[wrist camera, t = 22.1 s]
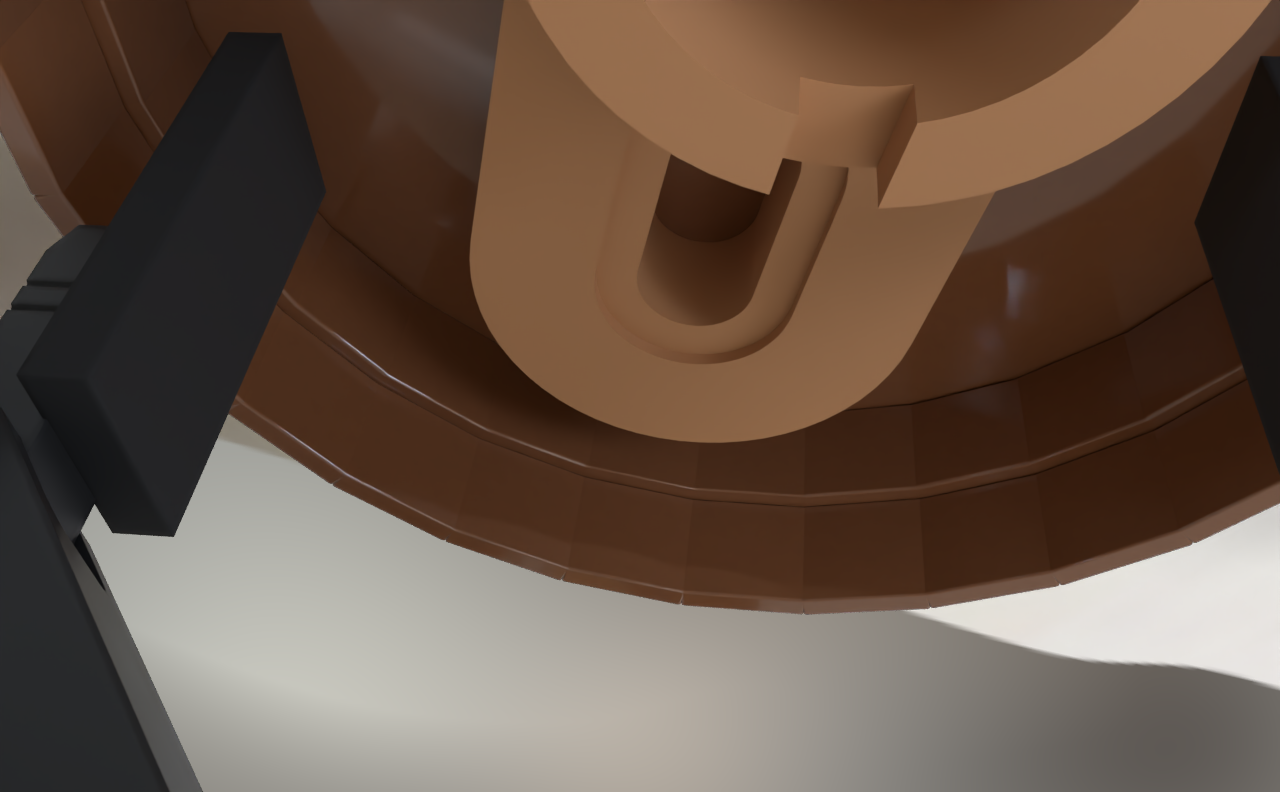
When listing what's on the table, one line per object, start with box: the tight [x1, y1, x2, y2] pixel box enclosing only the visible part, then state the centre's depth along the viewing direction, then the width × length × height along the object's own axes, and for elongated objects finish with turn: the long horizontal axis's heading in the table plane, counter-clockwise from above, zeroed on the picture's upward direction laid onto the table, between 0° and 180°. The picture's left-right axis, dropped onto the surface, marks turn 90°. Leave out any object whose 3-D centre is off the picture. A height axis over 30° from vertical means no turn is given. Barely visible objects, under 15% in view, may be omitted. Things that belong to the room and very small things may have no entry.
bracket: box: [470, 0, 1271, 443], centre depth 18 cm, size 18×8×7 cm, turn 168°
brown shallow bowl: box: [0, 0, 1280, 615], centre depth 19 cm, size 23×23×6 cm
